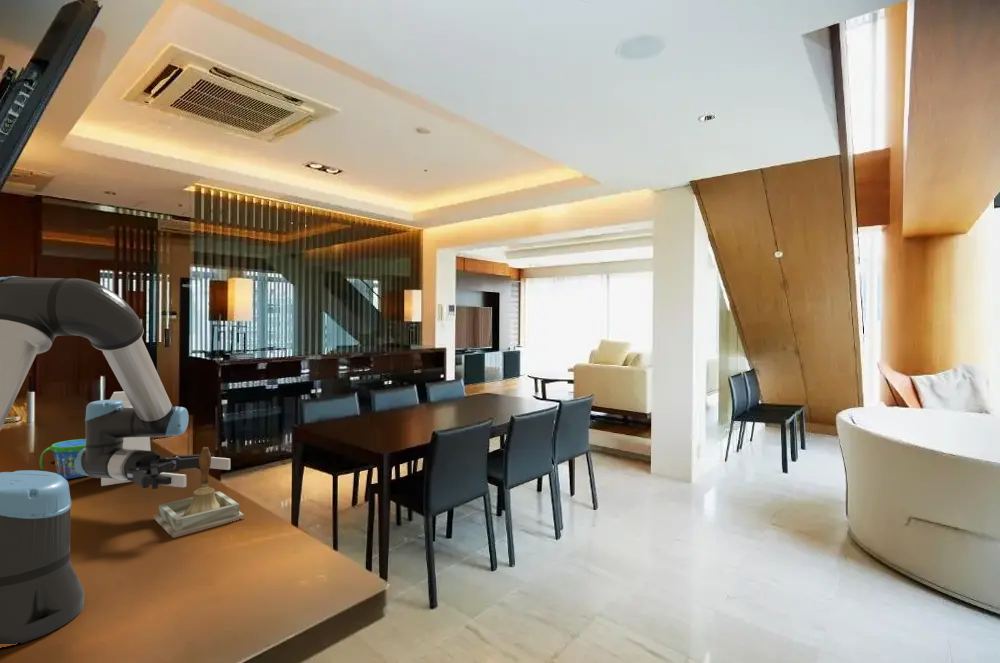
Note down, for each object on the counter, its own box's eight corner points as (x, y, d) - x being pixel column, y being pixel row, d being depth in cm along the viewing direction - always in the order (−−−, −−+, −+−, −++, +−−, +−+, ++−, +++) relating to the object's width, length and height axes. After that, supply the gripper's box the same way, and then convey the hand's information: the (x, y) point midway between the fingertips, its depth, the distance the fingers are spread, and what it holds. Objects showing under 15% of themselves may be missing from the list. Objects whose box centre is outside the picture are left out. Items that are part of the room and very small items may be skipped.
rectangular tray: (244, 518, 121) (244, 504, 121) (173, 538, 110) (173, 522, 110) (221, 502, 131) (221, 489, 131) (154, 519, 120) (154, 504, 120)
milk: (101, 486, 143) (100, 395, 142) (100, 475, 151) (100, 390, 151) (152, 478, 150) (152, 392, 150) (149, 468, 159) (148, 387, 158)
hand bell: (218, 503, 128) (219, 441, 128) (226, 513, 122) (227, 448, 121) (181, 510, 123) (181, 446, 122) (187, 521, 117) (187, 454, 116)
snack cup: (109, 467, 160) (108, 436, 159) (105, 476, 151) (105, 443, 151) (43, 475, 151) (43, 442, 151) (36, 485, 142) (35, 450, 142)
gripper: (178, 465, 137) (245, 472, 132) (85, 497, 113) (163, 506, 108) (178, 438, 137) (245, 444, 132) (84, 464, 112) (163, 472, 108)
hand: (208, 472), depth 120 cm, fingers open, 13 cm apart
